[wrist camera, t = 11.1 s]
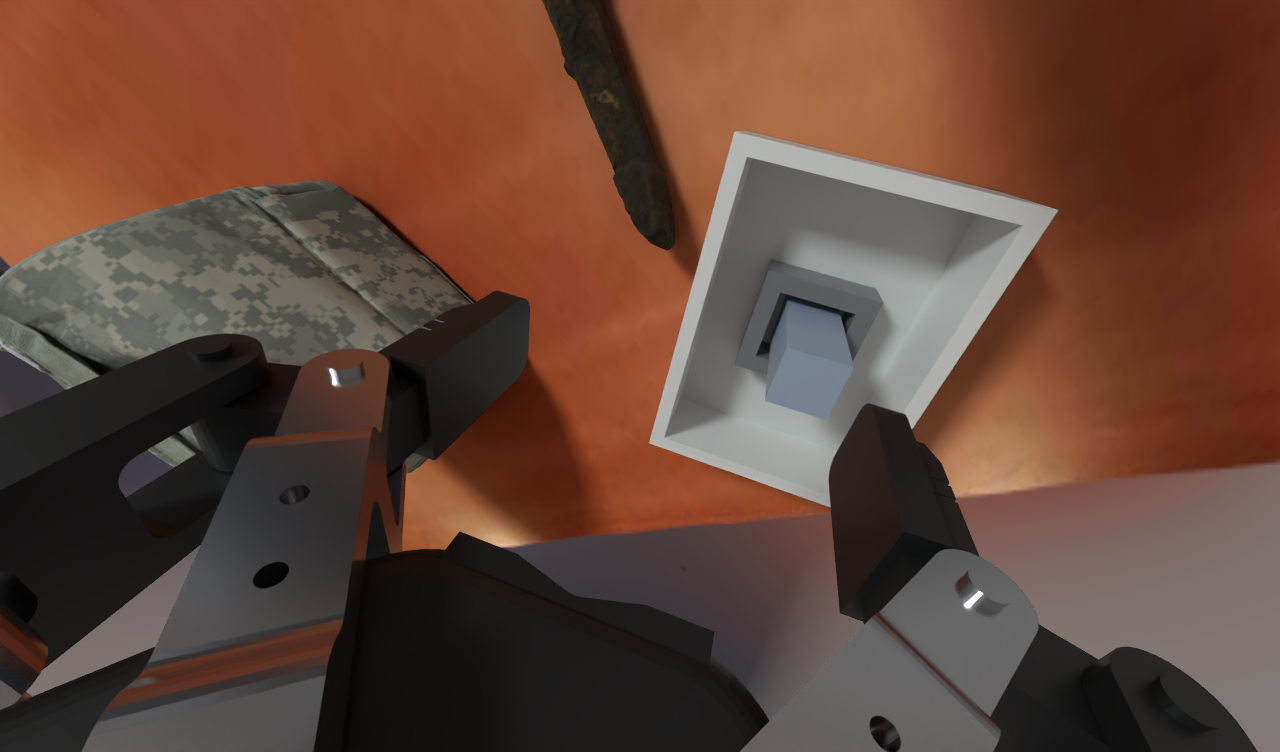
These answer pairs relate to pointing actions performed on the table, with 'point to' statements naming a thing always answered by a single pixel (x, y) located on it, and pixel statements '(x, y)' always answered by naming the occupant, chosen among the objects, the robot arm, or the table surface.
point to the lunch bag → (221, 286)
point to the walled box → (831, 299)
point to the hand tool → (614, 114)
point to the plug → (807, 358)
